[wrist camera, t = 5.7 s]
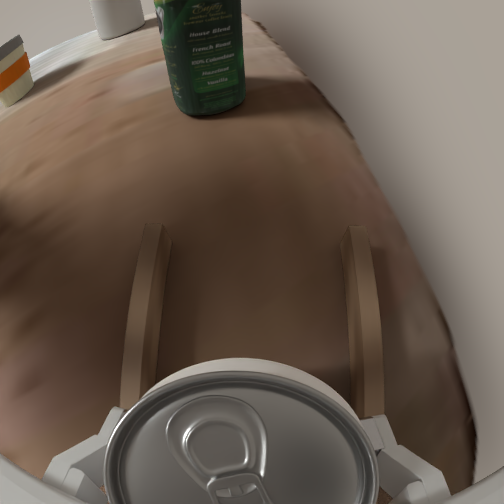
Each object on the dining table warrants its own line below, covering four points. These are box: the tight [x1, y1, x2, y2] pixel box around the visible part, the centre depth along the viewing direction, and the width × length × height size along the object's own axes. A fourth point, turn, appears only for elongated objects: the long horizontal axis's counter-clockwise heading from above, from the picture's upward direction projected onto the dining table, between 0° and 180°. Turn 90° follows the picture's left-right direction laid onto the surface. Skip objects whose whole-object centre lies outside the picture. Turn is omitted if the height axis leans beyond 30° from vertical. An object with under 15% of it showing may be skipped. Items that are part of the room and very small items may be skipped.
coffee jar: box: [154, 0, 246, 115], centre depth 20 cm, size 10×8×19 cm
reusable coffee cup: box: [0, 35, 34, 108], centre depth 32 cm, size 12×13×15 cm
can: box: [103, 358, 380, 504], centre depth 9 cm, size 6×6×12 cm
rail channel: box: [120, 224, 384, 504], centre depth 14 cm, size 18×14×2 cm
